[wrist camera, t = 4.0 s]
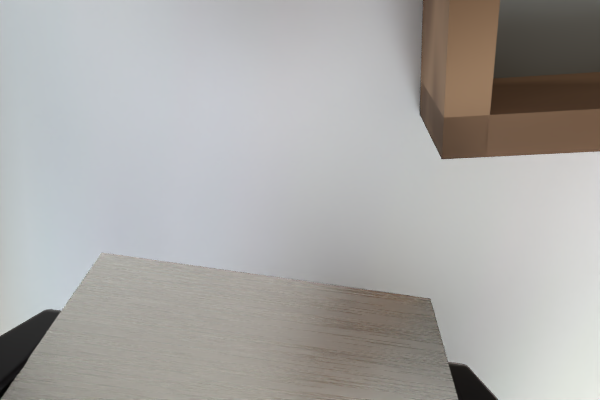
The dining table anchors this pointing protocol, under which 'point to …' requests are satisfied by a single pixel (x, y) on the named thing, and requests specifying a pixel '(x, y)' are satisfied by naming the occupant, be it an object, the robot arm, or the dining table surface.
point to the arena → (511, 76)
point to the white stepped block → (232, 339)
